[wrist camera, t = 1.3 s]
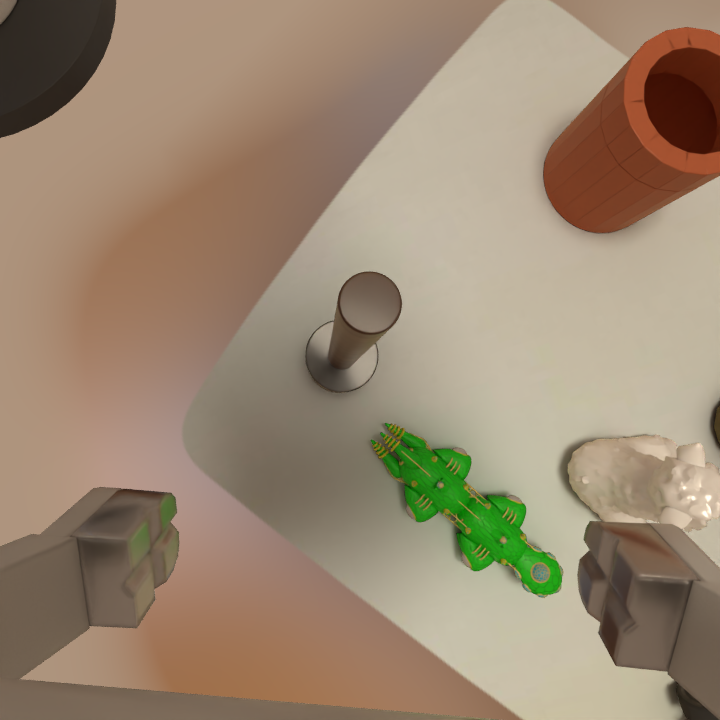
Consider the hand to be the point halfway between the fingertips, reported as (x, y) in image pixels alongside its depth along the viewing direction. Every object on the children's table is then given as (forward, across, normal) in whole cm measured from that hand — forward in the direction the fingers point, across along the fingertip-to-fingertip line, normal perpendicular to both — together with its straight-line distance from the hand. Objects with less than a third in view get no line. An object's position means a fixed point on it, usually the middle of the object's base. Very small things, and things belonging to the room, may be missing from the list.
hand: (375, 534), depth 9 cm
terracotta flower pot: (+37, -18, -11) cm, 43 cm away
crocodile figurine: (+26, -7, +15) cm, 31 cm away
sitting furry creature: (+29, -19, +14) cm, 37 cm away
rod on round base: (+29, +4, +5) cm, 29 cm away
